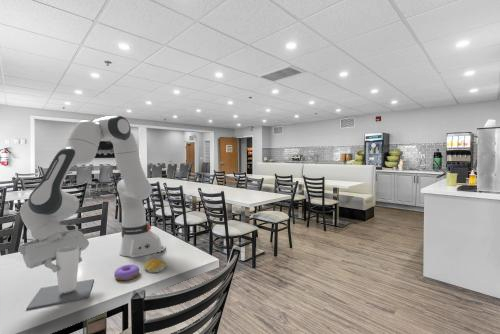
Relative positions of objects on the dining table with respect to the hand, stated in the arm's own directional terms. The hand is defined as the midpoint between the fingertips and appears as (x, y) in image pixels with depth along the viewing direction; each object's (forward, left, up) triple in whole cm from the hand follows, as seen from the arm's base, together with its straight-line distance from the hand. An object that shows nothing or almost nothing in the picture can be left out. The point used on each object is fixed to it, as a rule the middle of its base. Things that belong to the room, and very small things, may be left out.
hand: (68, 266), depth 90 cm
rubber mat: (+2, -1, -10) cm, 11 cm away
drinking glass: (+1, 0, -9) cm, 9 cm away
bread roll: (-30, -10, -11) cm, 33 cm away
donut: (-19, -7, -11) cm, 23 cm away
